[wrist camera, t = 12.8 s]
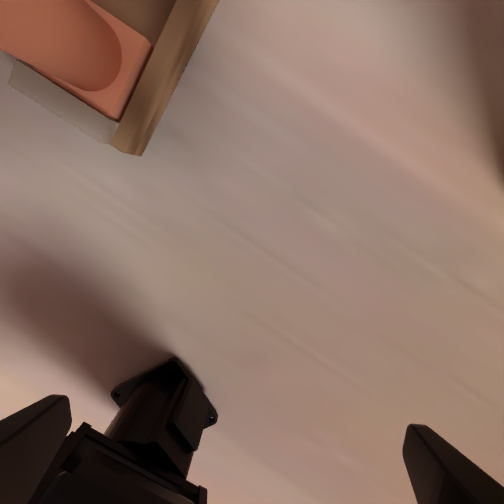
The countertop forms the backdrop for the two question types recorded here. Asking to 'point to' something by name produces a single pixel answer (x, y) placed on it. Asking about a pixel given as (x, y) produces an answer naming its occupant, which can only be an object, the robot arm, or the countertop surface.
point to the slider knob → (77, 49)
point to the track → (151, 82)
